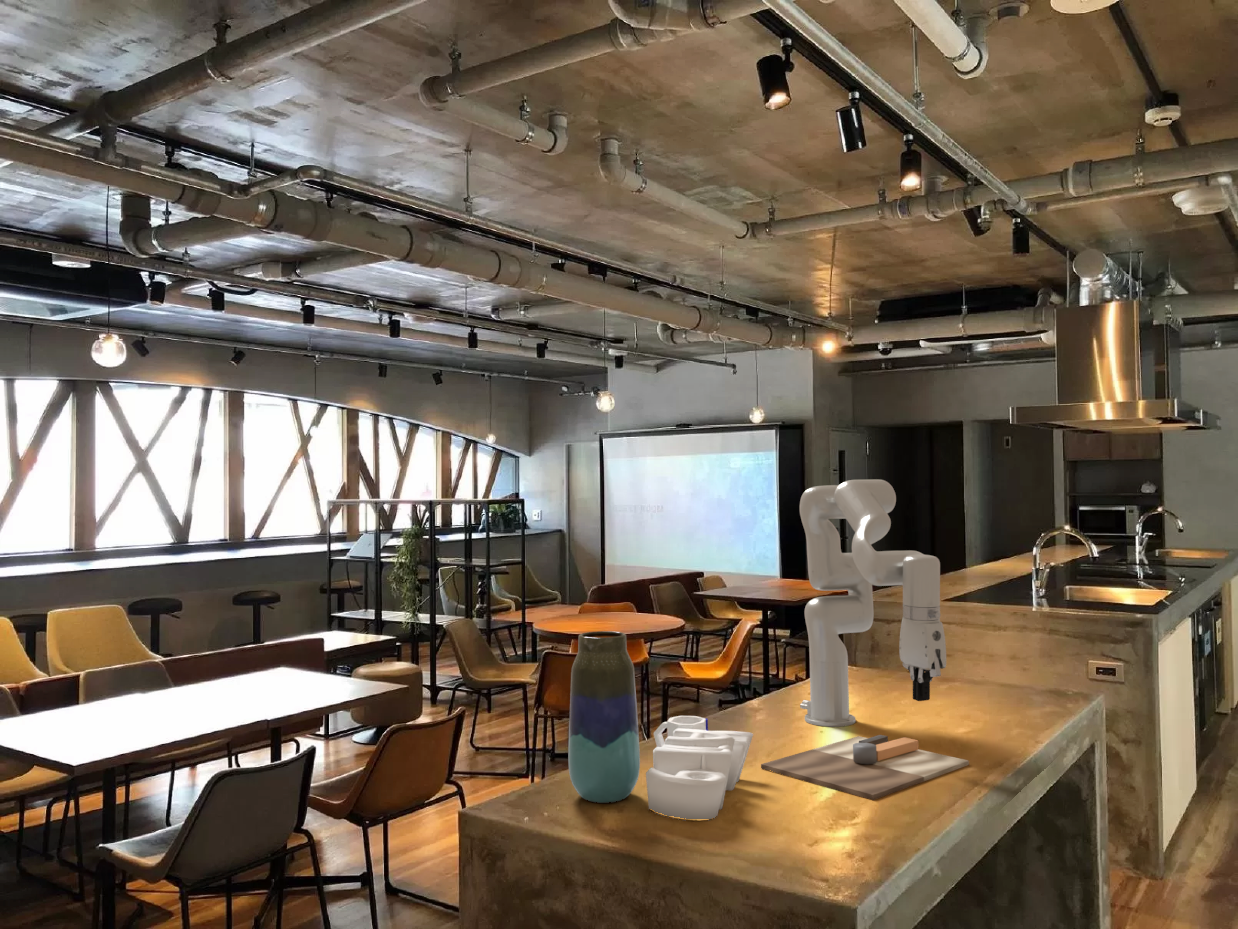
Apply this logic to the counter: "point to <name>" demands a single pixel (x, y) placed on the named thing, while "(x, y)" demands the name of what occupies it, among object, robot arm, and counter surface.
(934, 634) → the robot arm
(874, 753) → the bar
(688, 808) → the wavy white extrusion
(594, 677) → the vase
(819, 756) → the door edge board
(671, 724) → the mug
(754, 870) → the counter surface
